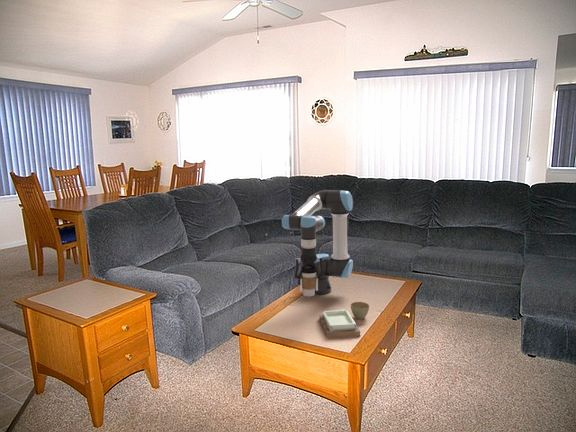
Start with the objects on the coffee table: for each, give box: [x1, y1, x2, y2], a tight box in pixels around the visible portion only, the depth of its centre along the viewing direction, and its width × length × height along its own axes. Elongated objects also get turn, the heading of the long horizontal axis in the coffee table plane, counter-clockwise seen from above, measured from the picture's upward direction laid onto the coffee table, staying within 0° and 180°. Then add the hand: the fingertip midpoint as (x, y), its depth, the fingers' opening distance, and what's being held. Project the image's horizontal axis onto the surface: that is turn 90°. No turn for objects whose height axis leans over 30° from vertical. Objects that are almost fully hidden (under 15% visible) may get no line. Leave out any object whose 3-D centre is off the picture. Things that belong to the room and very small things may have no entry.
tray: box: [322, 309, 357, 331], centre depth 216 cm, size 18×13×3 cm
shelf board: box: [318, 314, 361, 339], centre depth 216 cm, size 22×16×2 cm
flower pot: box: [350, 301, 370, 320], centre depth 227 cm, size 10×10×7 cm
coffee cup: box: [300, 265, 317, 297], centre depth 215 cm, size 8×8×15 cm
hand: (308, 290), depth 216 cm, fingers closed on coffee cup, 7 cm apart
